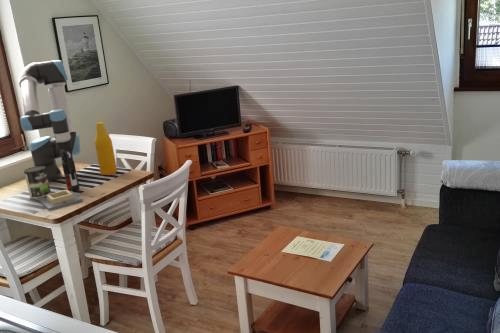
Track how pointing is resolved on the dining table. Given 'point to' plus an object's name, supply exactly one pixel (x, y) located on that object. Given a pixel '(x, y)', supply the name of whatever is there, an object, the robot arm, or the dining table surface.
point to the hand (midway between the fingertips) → (72, 183)
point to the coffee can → (37, 182)
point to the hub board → (60, 199)
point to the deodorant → (67, 178)
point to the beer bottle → (104, 151)
